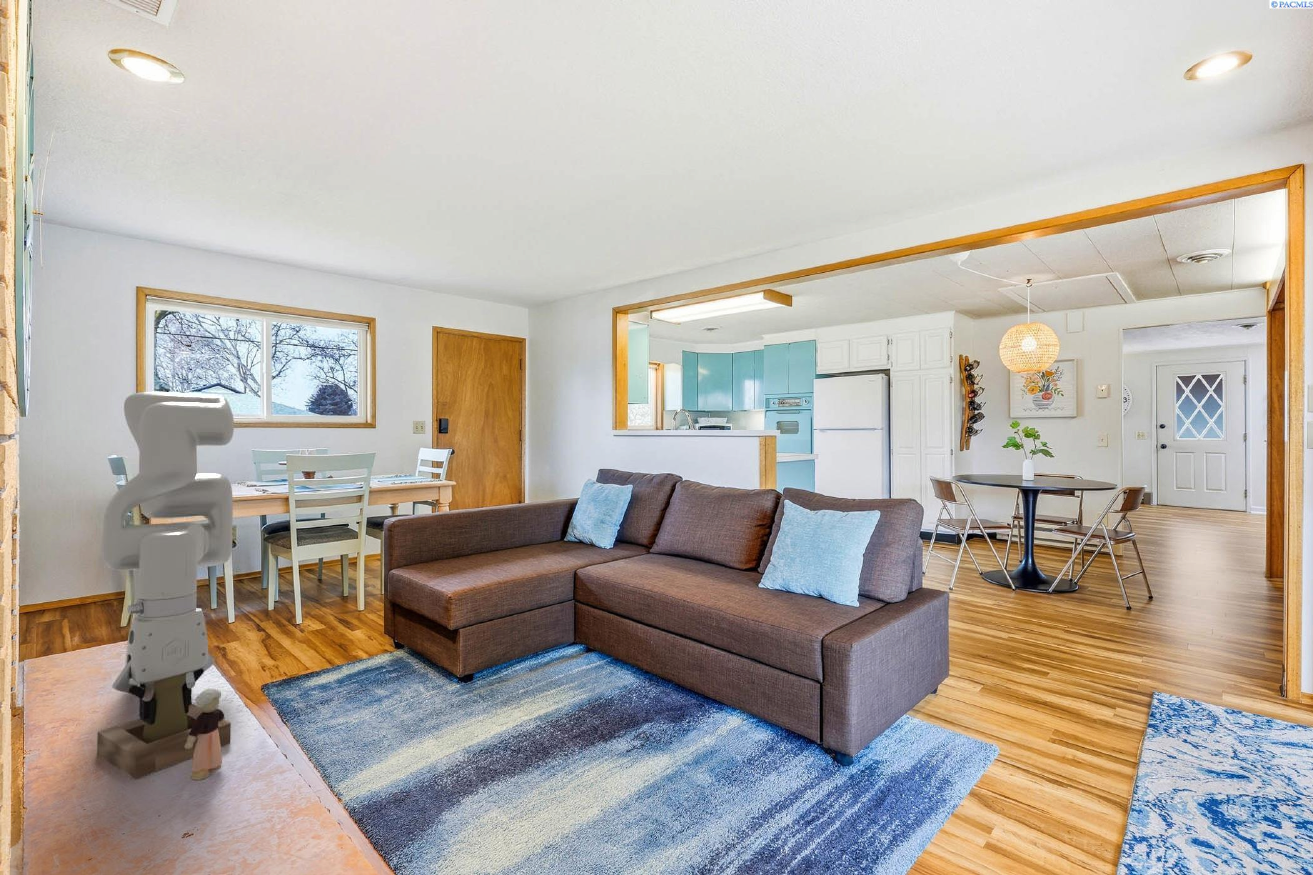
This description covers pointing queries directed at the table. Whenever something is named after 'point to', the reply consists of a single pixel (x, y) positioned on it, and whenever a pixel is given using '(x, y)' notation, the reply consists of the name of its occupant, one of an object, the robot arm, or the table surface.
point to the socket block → (150, 746)
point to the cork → (167, 710)
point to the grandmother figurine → (206, 735)
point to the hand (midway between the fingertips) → (165, 715)
